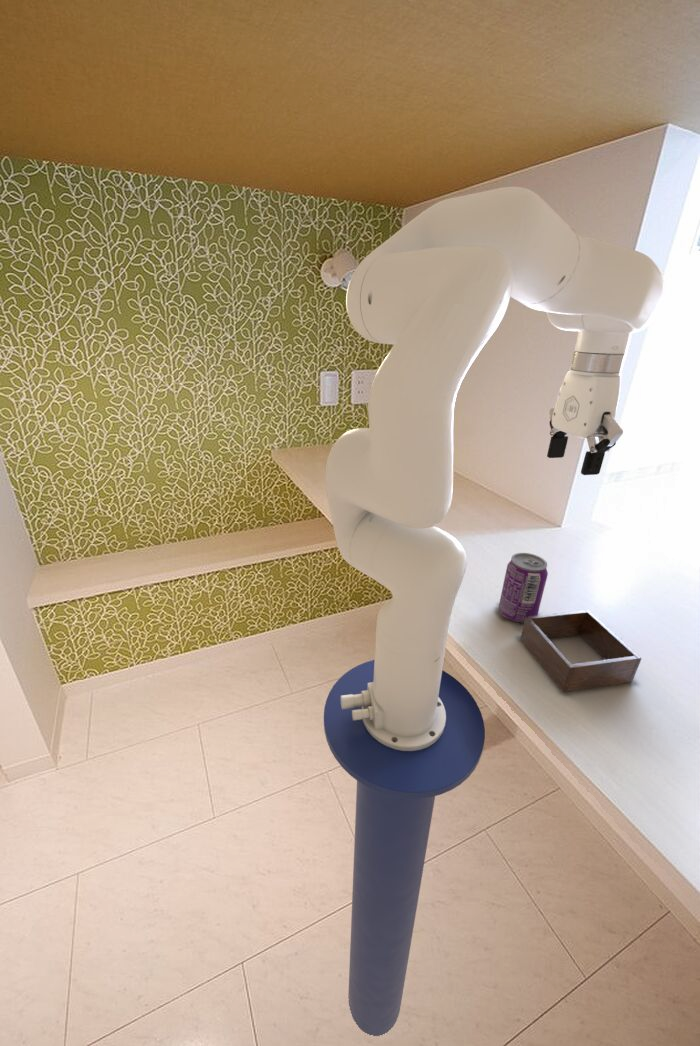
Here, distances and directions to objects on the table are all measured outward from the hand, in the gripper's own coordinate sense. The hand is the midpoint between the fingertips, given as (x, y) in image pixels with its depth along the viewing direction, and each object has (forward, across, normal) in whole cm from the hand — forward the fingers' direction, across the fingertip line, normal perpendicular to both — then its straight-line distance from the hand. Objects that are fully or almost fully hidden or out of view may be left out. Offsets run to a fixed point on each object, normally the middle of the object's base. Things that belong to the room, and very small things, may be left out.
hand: (571, 465), depth 78 cm
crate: (+28, +18, -5) cm, 34 cm away
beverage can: (+28, +5, -8) cm, 30 cm away
